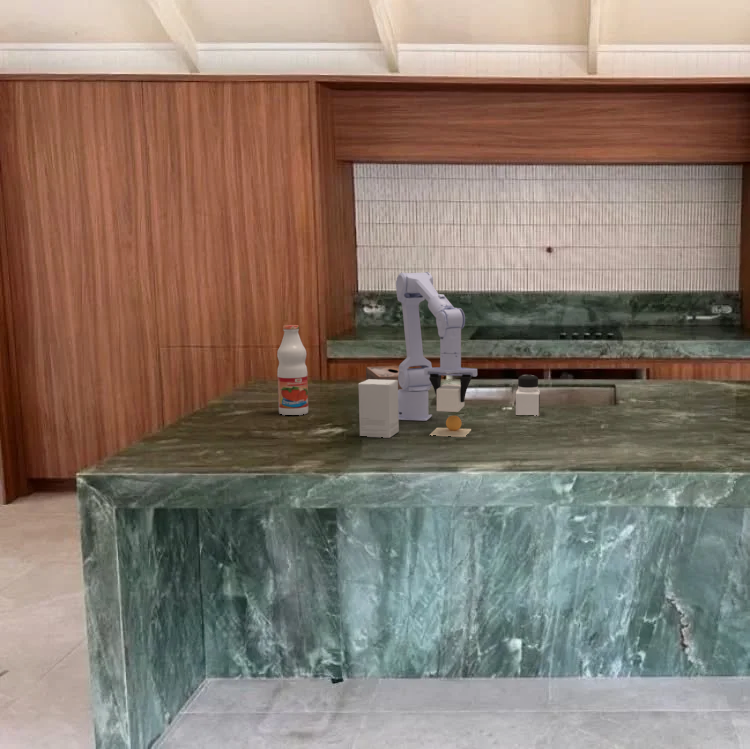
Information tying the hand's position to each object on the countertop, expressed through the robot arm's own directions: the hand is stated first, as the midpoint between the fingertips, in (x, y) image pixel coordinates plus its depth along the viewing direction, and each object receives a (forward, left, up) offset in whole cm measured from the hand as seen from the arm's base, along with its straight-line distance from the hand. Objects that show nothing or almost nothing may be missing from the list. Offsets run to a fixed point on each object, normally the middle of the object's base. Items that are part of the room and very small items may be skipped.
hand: (450, 401), depth 236 cm
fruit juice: (-54, +18, -9) cm, 58 cm away
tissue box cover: (-30, +51, -10) cm, 60 cm away
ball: (0, +3, -7) cm, 7 cm away
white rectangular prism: (0, 0, -2) cm, 2 cm away
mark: (0, 0, -9) cm, 9 cm away
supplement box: (-19, -6, -9) cm, 22 cm away
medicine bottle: (+18, +32, -9) cm, 38 cm away
